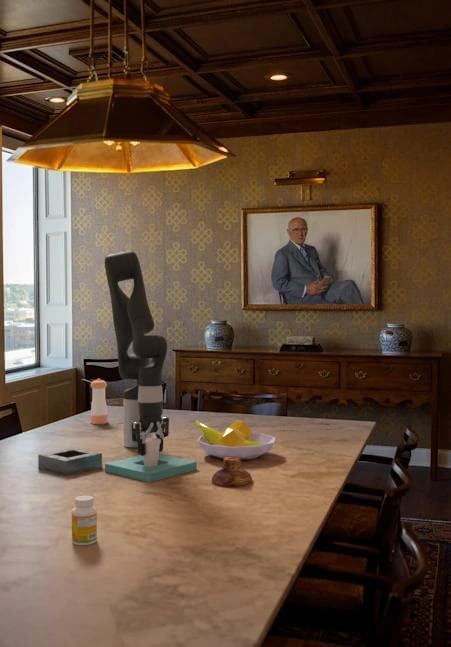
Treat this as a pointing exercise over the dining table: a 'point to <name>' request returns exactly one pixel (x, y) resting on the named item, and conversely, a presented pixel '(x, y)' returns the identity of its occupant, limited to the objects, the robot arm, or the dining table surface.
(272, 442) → the fruit bowl
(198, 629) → the dining table surface
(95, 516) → the supplement bottle
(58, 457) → the tall socket
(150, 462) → the smoothie
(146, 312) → the robot arm
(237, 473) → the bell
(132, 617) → the dining table surface
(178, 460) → the low socket
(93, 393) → the pepper shaker
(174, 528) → the dining table surface
